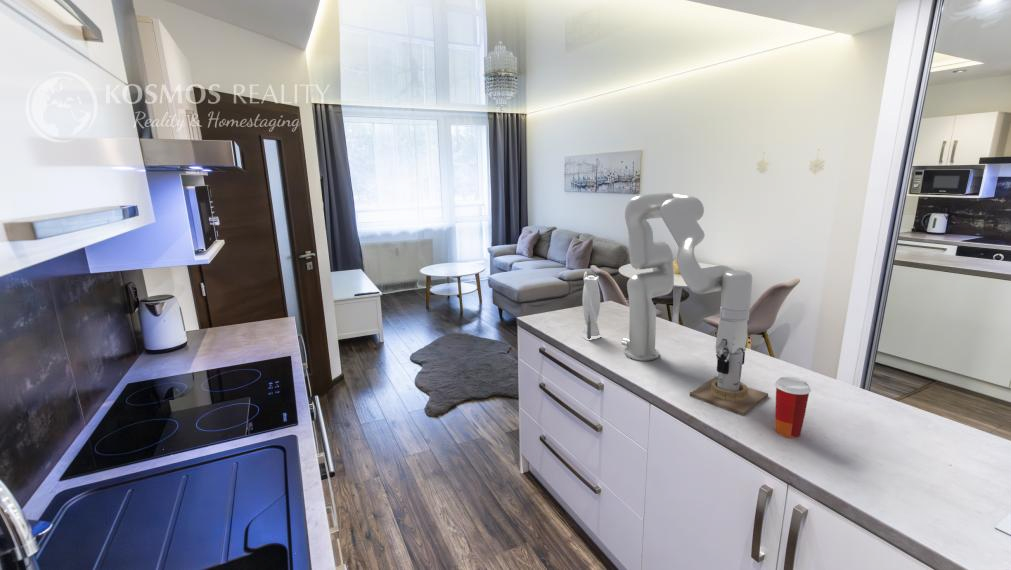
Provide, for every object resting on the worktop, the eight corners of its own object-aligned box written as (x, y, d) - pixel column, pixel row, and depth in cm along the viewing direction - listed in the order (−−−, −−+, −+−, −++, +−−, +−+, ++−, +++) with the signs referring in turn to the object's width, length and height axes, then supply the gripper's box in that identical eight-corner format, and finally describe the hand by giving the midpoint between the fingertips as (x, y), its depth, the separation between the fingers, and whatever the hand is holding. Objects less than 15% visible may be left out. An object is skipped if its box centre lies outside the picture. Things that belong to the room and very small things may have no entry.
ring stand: (689, 395, 135) (690, 385, 134) (715, 379, 145) (716, 369, 144) (743, 415, 123) (744, 404, 122) (768, 396, 132) (769, 385, 131)
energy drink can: (738, 399, 130) (743, 352, 126) (715, 395, 132) (720, 348, 129) (739, 390, 135) (744, 344, 131) (717, 386, 137) (721, 341, 134)
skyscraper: (577, 335, 192) (576, 272, 185) (592, 331, 195) (592, 269, 188) (588, 340, 184) (588, 275, 178) (604, 337, 187) (604, 273, 181)
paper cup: (800, 426, 117) (806, 377, 113) (809, 442, 110) (815, 391, 106) (766, 422, 119) (771, 374, 116) (773, 437, 112) (778, 387, 109)
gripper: (735, 304, 136) (731, 356, 140) (706, 317, 125) (703, 372, 129) (761, 309, 130) (756, 363, 134) (733, 323, 120) (729, 380, 124)
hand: (730, 367), depth 132 cm, fingers open, 9 cm apart
